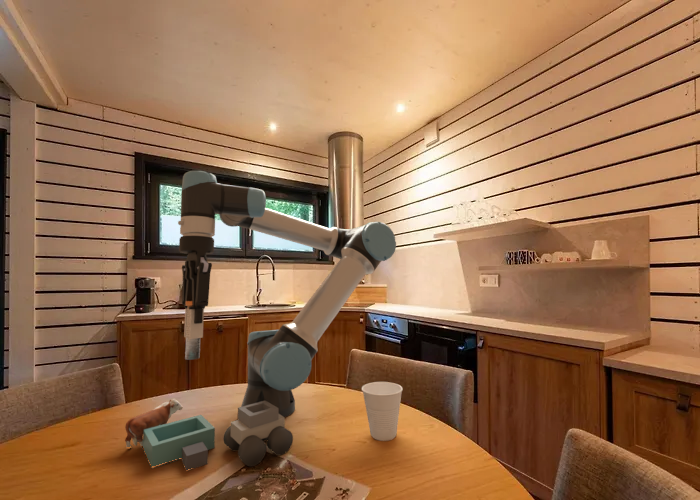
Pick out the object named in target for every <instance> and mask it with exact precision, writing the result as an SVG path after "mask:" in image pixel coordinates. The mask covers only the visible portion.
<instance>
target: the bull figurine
mask: <svg viewBox="0 0 700 500" xmlns="http://www.w3.org/2000/svg"><path fill="white" fill-rule="evenodd" d="M183 407H184V406H183V405H182V404H181V403H180V402H179V401H178V400H176V398H172V399H169V401H165V402H162V403H161V404H159V406H158V405H157V406H156V407H154V408H153V409H151V410H150V411H148V412H144V413H141V414H139V415H136V416H134V417H131V418H130V419H129V420H128V421H127V422H126V424H125V426H124V427H125V431H126V437H125V438H124V441H125V445H126V446H125V448H126V447H130V446H132V445H131V440H132V443H133V445H134V446H138V444H140V447H141V446H143V430H144V429H148V428H152V427H156V426H159V425H163V424H167V423H168V422H169V419H170V418H171V417H172V415H174V414H175V413H176V412H177V411H181V410H183Z"/></svg>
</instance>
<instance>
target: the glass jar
mask: <svg viewBox="0 0 700 500" xmlns="http://www.w3.org/2000/svg"><path fill="white" fill-rule="evenodd" d="M185 306H187V308H186V309H187V327H186V337H185V352H184V354H185V356H184V359H185V360H188V361H190V360H198V359H200V356H201V354H200V353H201V338H195V339H189V332H190V309H189V307H190V306H192V301H186V305H185Z"/></svg>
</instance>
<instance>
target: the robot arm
mask: <svg viewBox="0 0 700 500" xmlns="http://www.w3.org/2000/svg"><path fill="white" fill-rule="evenodd" d="M180 192H181V194H180V196H181V197H180V202H181V203H180V220H178V221H177V224H178V225H179V226H180V227H179V228H180V229H179V230H180V231H179V234H181V236H180V237H179V243H178V244H179V245H178V251H179V252H180V253H182V254H187V256H186V260H185V261H184V264H183V265H182V266H181V272H182V291H181V292H182V293H181V297H182V298H181V299H182V300H181V303H182V306H184V308H185V309H184V331H183V333H184V334H183V337H184V338H186V327H187V306H185V305H186V301H192V306H190V307H189V309H190V332H189V339H195V338H200V339H201V338H202V339H203V338H204V315H205V313H204V312H205V309H206V307H208V306H209V296H210V284H211V271H212V266H213V264H212V262H208V257H207V255H212V254H213V253H214V252H215V239H214V238H213V237H214V236H215V235H216V234H215V232H216V215H219V219H220V220H221V222H222V223H223V224H224V225H226V226H228V227H240V228H244V229H248V230H251V231H255V232H259V233H262V234H265V235H269V236H272V237H276V238H279V239H282V240H286V241H289V242H293V243H297V244H300V245H303V246H307V247H310V248H314V249H316V250H320V251H323V252H324V254H325V255H326V256H331V257H332V258H337V259H339V260H338V262H337V263H336V264H335V266H334V267H333V268H332V270H331V271H330V272H329V273H328V274H327V276H325V277H326V278H325V279H324V280H323V282H321V284H320V285H319V287H318V288H317V289H316V290H315V292H314V293H313V294H312V296H310V298H309V300H307V302H306V303H305V305H304V306H303V307H302V308H301V309H300V311H299V312H298V314H297V315H296V316H295V317H294V319H293V320H292V321H291V322H290V323H285V324H284V323H283V324H282V325H281V326H280V328H279V329H271V330H270V329H269V330H259V331H252V332H250V333H249V334H248V338H247V342H246V343H247V387H246V390H245V393H244V396H243V399H242V403H241V405H240V407H243V406H246V405H250V404H254V403H258V402H261V401H267V402H269V403H270V404H272V405H274V406H276V407H277V408H278V414H280V415H282V416H283V417H285V418H286V417H289V416H290V415H292V414H293V413H294V411H296V399H295V397H294V394H293V391H292V390H295V389H297V388H298V387H300V386H301V385H302V384H303V383H304V382H306V380H307V379H308V377H309V376H310V374H311V371H312V360H313V358H314V357H315V355H316V354H317V353H318V342H319V341H320V339H321V337H322V336H323V334H324V333H325V331H326V330H327V329H328V328H329V326H330V324H331V323H332V322H333V321H334V320H335V318H336V317H337V315H338V313H340V310H341V309H342V308H343V307H344V305H345V304H346V302H347V301H348V299H349V298H350V297H351V295H352V294H353V293H354V291H355V290H356V288H357V287H358V286H359V284H360V282H361V281H362V280H363V278H364V277H365V276H366V275H371V274H373V273H374V272H375V270H376V269H377V268H378V267H379V266H380V264H381V262H385V261H387V260H389V259H390V258H391V257H393V256H394V254H395V253H396V248H397V241H396V235H395V234H394V232H393V230H392V229H391V227H390V226H388V225H387V224H386V223H384V222H381V221H370V222H368V223H366V224H362V225H359V226H357V227H353V228H348V229H344V228H339V227H336V226H332V227H330V228H329V227H326V226H323V225H320V224H316V223H313V222H310V221H307V220H305V219H302V218H298V217H295V216H292V215H289V214H286V213H283V212H279V211H277V210H273V209H271V208H267V207H266V205H267V198H266V193H265V191H264V189H261V188H260V189H259V188H255V187H251V186H250V187H249V186H248V187H247V186H239V185H230V184H223V183H218V181H217V177H216V175H215V174H213V173H212V172H207V171H204V170H190V171H187V172H185V173H184V174H183V176H182V184H181V191H180Z"/></svg>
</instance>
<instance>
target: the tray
mask: <svg viewBox="0 0 700 500" xmlns="http://www.w3.org/2000/svg"><path fill="white" fill-rule="evenodd" d="M215 432H216V428H215V426H213V424H212V423H210V422H209V421H208V419H206V418H205V417H204V416H203V415H202V414H198V415H195V416H194V415H193V416H190V417H186V418H183V419H179V420H175V421H170V422H167V424H163V425H159V426H156V427H152V428H148V429H144V430H143V448H144V451H145V453H146V455H147V458H148V460H149V462H150V464H151V467H152V466H156V465H159V464H162V463H165V462H169V461H172V460H175V459H179V458H182V448H183V447H186V446H190V445H193V444H196V443H200V442H203V443H204V445H205V446H206V448H207V449H208V451H209V450H211V449H215V448H216V447H215V443H216V442H215V440H216V433H215ZM143 448H142V449H143ZM144 451H143V452H144ZM145 453H144V454H145ZM147 458H146V459H147ZM148 460H147V461H148ZM179 460H180V459H179ZM149 462H148V463H149ZM150 464H149V465H150ZM151 467H150V468H151Z"/></svg>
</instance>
